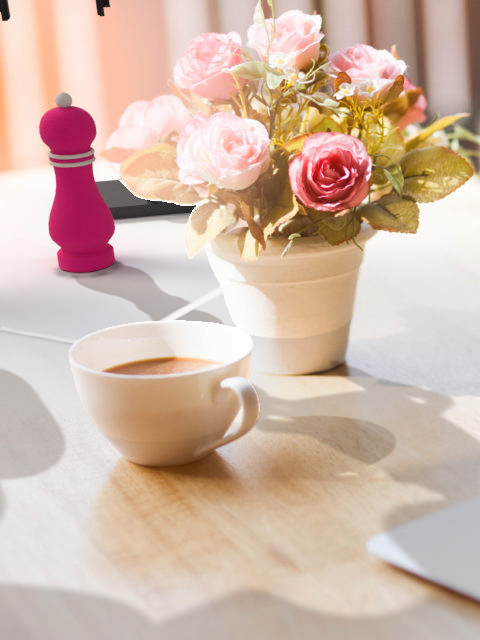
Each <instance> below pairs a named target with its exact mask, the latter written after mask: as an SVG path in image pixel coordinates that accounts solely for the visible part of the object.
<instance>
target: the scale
mask: <svg viewBox="0 0 480 640" xmlns="http://www.w3.org/2000/svg"><path fill="white" fill-rule="evenodd" d="M119 180H120V179H111V180H99V181H95V183H96V185H97V188H98V190H99V192H100V194H101V196H102V198H103V199H104V201H105V203H106V204H107V206H108V207H109V209H110V211H111V214H112V216H113V219H114V221H115V220H124V219H125V220H126V219H136V218H146V217H157V216H159V217H160V216H169V215H180V214H190V213H193V212H192V210H193V209H194V207H195V208H196V205H195V206H180V205H176V204H174V203H167V202H162V201H150V200H145V199H141V198H138V197H136V196H134V195H133V194H132V193H131V192H130V191H129V190H128V189H127V188H126V187H125V186H124V185H123V184H122V183H121V182H120V181H119Z"/></svg>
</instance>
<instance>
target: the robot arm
mask: <svg viewBox="0 0 480 640" xmlns="http://www.w3.org/2000/svg"><path fill="white" fill-rule="evenodd" d="M95 7H96V8H95V9H96V13H97V16H99V17H105V8H111V2H110V0H95ZM10 11H11V10H10V4H9V0H0V16H1V22H8V21H9V20H10V19H11V12H10Z"/></svg>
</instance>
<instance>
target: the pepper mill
mask: <svg viewBox="0 0 480 640" xmlns="http://www.w3.org/2000/svg"><path fill="white" fill-rule="evenodd" d="M54 102H55V104H56V106H55V107H53V108H51V109H49V110H47V111H46V112H45V113H43V115H42V116H41V118H40V120H39V126H38V133H39V137H40V139H41V141H42V142H43V144H44V145H45V146H47V148H49V150H48V151H47V153H46V154H47V156H48V165H50V166H52V168H53V172H54V175H55V178H54V179H55V189H54V190H55V192H54V198H53V201H52V205H51V209H50V210H49V216H48V223H47V225H48V235H49V237H50V239H51V240H52V241H53V242H54V243H55V244H56V245H57V246H59V249H58V250H57V252H56V257H57V258H56V259H57V263H58V267H59V268H60V269H61V270H62V271H65V272H70V273H91V272H96V271H101V270H103V269H106V268H108V267H110V266H113V264H115V262H116V257H115V250H114V249H115V248H114V246H113V245H112V244H110V243H109V242H110V240H111V239H112V238H113V236H114V235H115V231H116V226H115V225H116V224H115V220H114V219H113V216H112V214H111V211H110V209H109V207H108V206H107V204H106V203H105V201H104V199H103V198H102V196H101V194H100V192H99V190H98V188H97V185H96V183H95V182H96V179H95V175H94V165H93V163H94V162H96V160H97V157H96V156H95V151H96V150H95V148H94V147H91V146H92V144H93V142H94V141H95V139H96V138H97V133H98V132H97V125H96V122H95V119H94V117H93V116H92V115H91V114H90V113H89V112H88V111H87V110H85V108H82V107H80V106H75V105H72V104H73V98H72V96H71V95H70V94H69V93H67V92H65V91H64V92H63V91H62V92H59V93H58V94H56V96H55V98H54Z"/></svg>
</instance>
